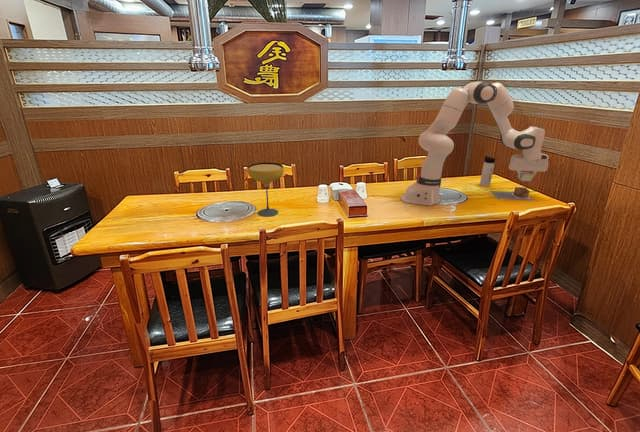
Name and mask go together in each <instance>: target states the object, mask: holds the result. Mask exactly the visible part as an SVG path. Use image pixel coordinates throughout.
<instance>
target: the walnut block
mask: <svg viewBox="0 0 640 432" xmlns="http://www.w3.org/2000/svg"><path fill="white" fill-rule="evenodd" d="M513 192H514V195H515V196H516V197H519V198H528V196H529V195H530V190H529V189H528V188H527V187H520V186H519V187H517V186H516V187H514V191H513Z"/></svg>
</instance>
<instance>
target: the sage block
mask: <svg viewBox="0 0 640 432" xmlns="http://www.w3.org/2000/svg"><path fill="white" fill-rule="evenodd" d="M520 175H522V177H521V178H518V179H519V180H520V181H521V182H532V180H533V179H532V173H530V171H521V172H520Z"/></svg>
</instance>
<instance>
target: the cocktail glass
mask: <svg viewBox="0 0 640 432" xmlns="http://www.w3.org/2000/svg"><path fill="white" fill-rule="evenodd" d="M284 169H285V168H284V166H283V164H280V163H276V162H258V163H253V164H251V165H248V167H247V175H248V176H249V177H250V178H251V179H252V180H254V181H257V182H260V183H261V184H263V186H265V192H266V193H265V194H266V208H263V209H260V210H258V211H257V215H258V216H261V217H265V218H266V217H269V218H270V217H274V216H276V215H278V214H279V210H278V209H276V208H270V207H269V205H270V204H269V194H268V187H269V185H270V184H271V183H273V182H274V181H277V180H278V179H280V178H281V177H282V176H283V175H284V172H285V171H284Z"/></svg>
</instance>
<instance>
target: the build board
mask: <svg viewBox="0 0 640 432" xmlns="http://www.w3.org/2000/svg"><path fill="white" fill-rule="evenodd" d="M489 192H490V193H491V194H492V195H493V196H494V197H495V198H496V199H497V200H507V201H508V200H512V201H513V200H514V201H529V202H530V201H531V202H534V200H533V199H532V198H531V197H530V196H529V195H528V198H519V197H516V196H515V195H514V191H501V190H498V191H497V190H496V191H495V190H489Z"/></svg>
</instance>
